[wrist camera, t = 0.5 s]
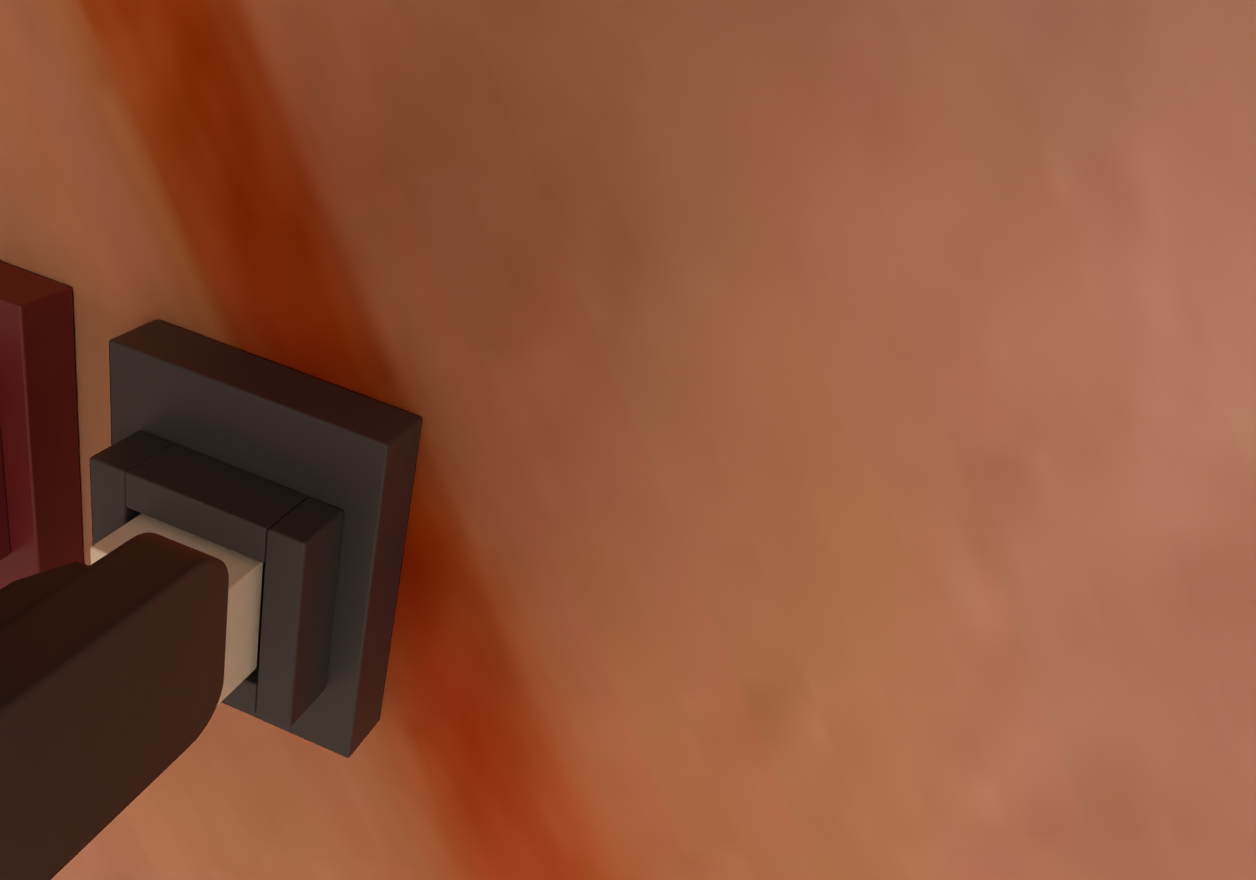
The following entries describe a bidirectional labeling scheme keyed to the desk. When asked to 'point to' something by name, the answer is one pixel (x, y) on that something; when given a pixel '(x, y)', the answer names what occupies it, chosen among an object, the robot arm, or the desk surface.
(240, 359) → the dark gray stepped base
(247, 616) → the ivory key
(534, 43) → the desk surface
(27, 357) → the maroon stepped base
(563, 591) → the desk surface
